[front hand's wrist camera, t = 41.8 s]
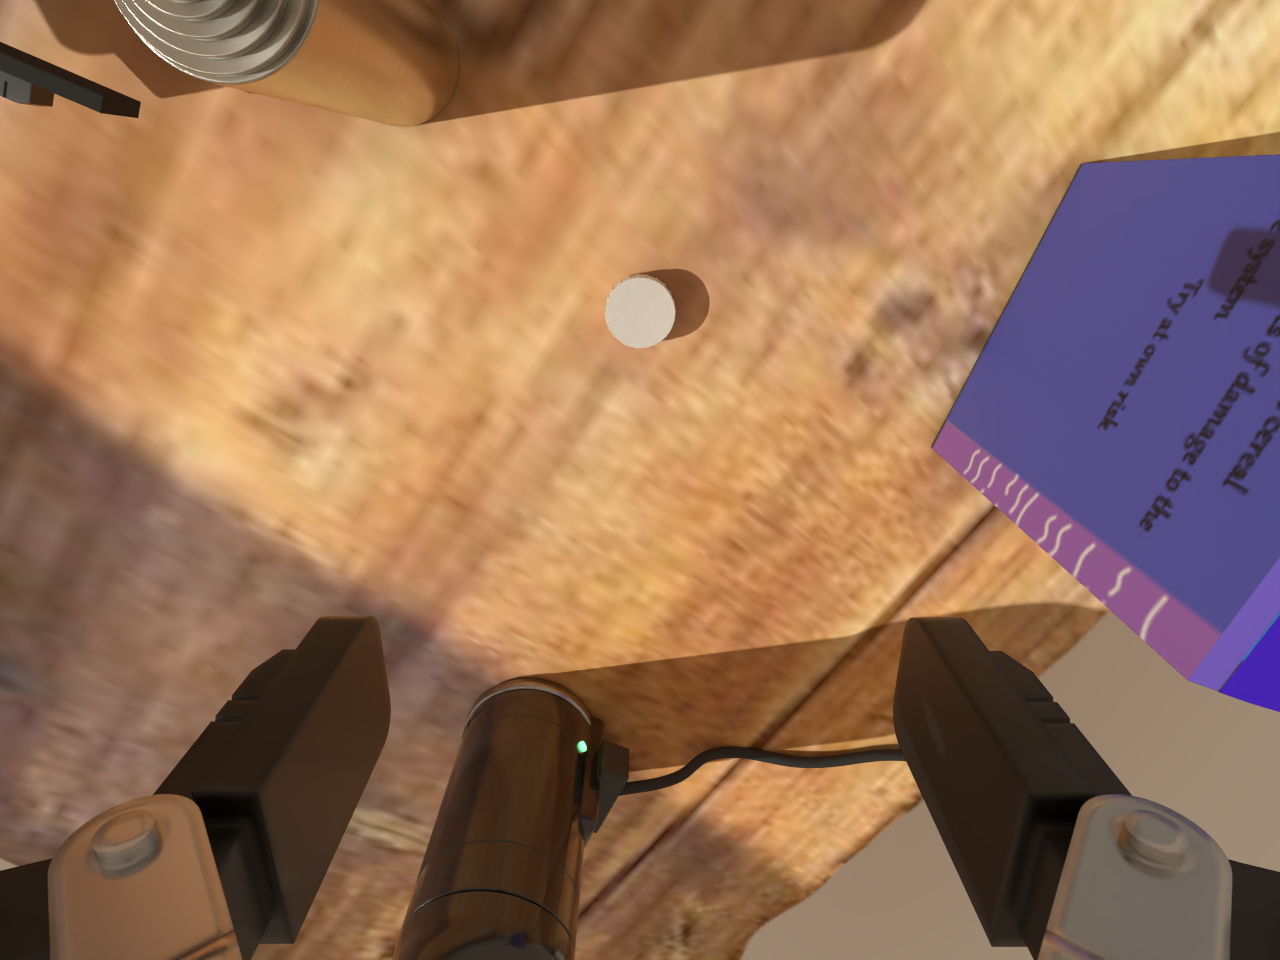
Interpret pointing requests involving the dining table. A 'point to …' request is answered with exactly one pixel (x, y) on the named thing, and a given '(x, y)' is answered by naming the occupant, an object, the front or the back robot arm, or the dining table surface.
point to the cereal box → (1148, 408)
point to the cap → (640, 311)
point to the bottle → (311, 51)
